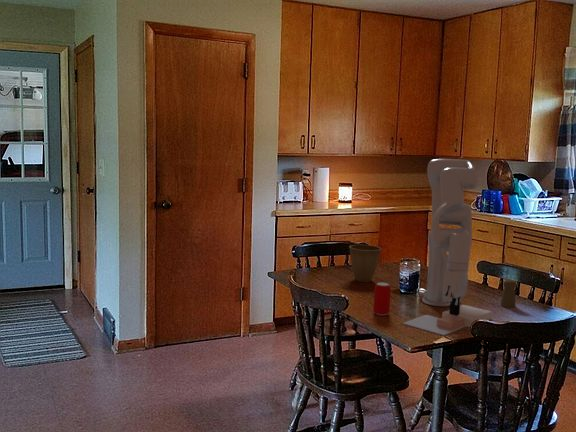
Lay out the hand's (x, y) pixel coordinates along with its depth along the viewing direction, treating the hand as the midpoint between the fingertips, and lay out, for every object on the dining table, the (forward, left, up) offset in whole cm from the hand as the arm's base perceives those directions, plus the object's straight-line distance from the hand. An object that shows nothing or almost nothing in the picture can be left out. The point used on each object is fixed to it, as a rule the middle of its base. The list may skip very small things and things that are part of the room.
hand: (454, 314), depth 226 cm
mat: (-4, -6, -4) cm, 8 cm away
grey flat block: (0, +10, -4) cm, 11 cm away
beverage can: (-26, -10, -4) cm, 28 cm away
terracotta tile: (0, -3, -4) cm, 5 cm away
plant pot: (-62, +28, -4) cm, 69 cm away
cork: (+2, +41, -4) cm, 41 cm away
